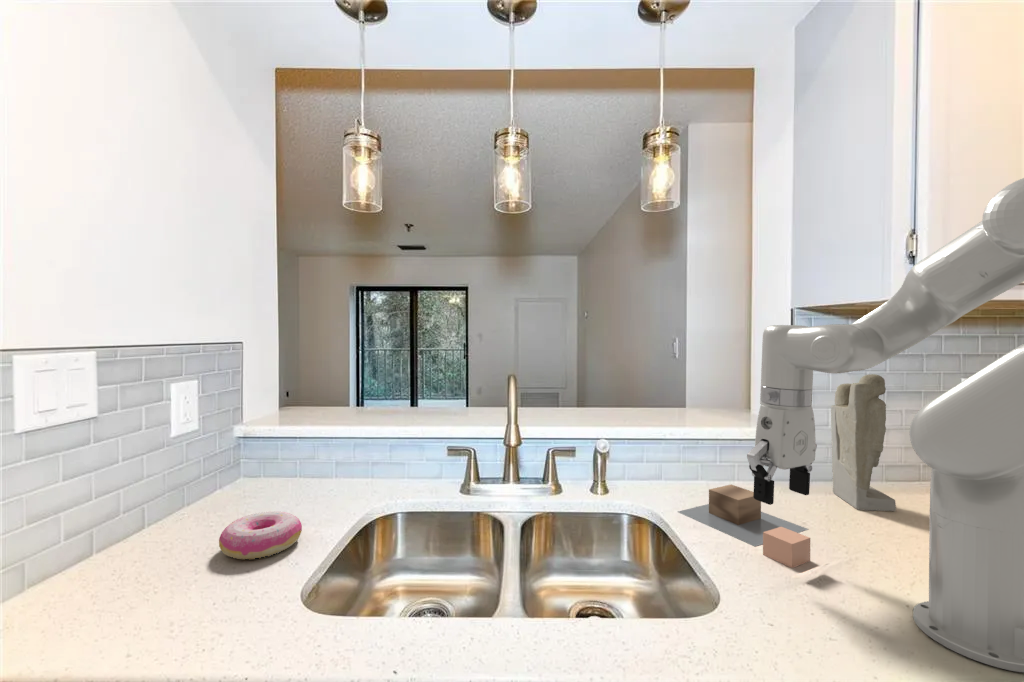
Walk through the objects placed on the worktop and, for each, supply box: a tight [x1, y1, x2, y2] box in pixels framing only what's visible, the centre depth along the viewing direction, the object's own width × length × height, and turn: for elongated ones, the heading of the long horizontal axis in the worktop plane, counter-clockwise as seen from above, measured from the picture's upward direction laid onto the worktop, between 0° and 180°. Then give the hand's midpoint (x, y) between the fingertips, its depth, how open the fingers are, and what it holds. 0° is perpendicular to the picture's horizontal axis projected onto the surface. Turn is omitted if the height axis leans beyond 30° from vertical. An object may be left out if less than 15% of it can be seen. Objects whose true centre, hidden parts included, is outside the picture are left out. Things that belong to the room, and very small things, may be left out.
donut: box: [218, 511, 303, 560], centre depth 84 cm, size 14×13×5 cm
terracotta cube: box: [762, 527, 811, 569], centre depth 77 cm, size 5×5×5 cm
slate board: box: [677, 503, 809, 548], centre depth 93 cm, size 18×16×1 cm
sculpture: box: [830, 373, 897, 512], centre depth 104 cm, size 15×8×30 cm, turn 168°
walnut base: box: [708, 484, 762, 525], centre depth 95 cm, size 7×7×5 cm
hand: (781, 496), depth 78 cm, fingers open, 9 cm apart
